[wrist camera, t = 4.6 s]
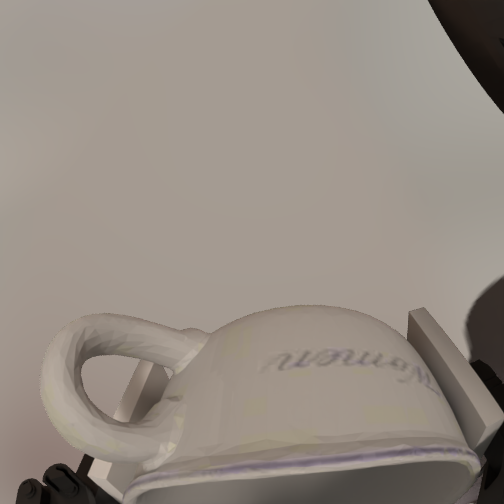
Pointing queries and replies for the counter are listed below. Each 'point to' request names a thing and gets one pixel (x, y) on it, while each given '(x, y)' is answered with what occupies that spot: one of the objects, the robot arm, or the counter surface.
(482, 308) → the counter surface
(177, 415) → the teacup
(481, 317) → the counter surface
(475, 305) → the counter surface
